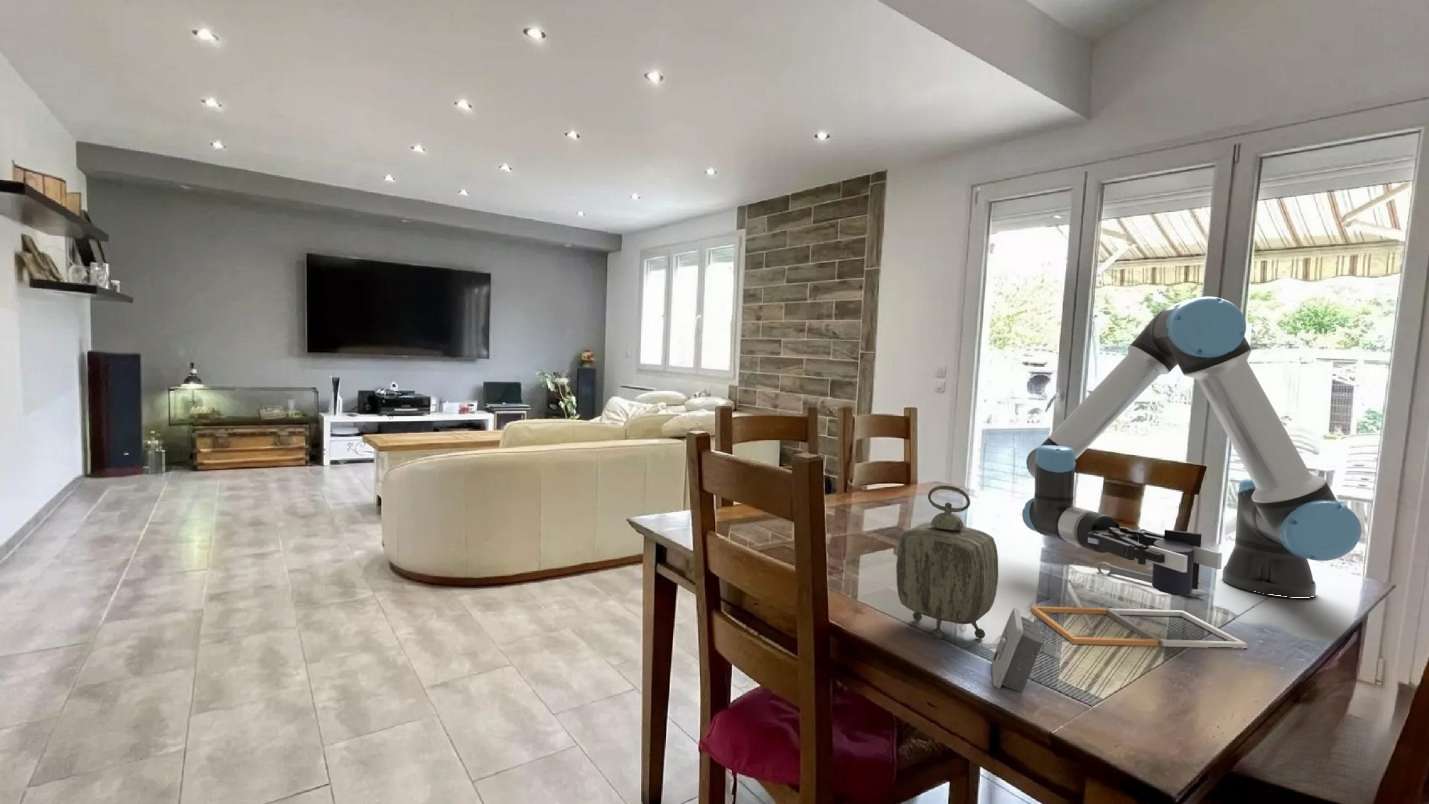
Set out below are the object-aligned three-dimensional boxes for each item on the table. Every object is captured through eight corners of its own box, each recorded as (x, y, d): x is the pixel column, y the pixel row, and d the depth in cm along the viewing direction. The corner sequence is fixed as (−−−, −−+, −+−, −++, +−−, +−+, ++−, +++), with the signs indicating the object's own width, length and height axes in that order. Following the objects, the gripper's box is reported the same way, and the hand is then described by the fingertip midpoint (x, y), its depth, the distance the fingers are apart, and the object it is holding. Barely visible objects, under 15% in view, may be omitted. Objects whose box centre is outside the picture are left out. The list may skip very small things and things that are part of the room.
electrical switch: (991, 662, 99) (1001, 603, 98) (1028, 672, 97) (1039, 612, 96) (992, 690, 90) (1003, 626, 89) (1033, 702, 88) (1044, 636, 87)
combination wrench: (1097, 559, 146) (1202, 582, 129) (1099, 558, 146) (1205, 581, 130) (1096, 575, 146) (1202, 601, 129) (1099, 574, 146) (1204, 600, 130)
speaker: (1160, 579, 119) (1164, 525, 117) (1198, 589, 115) (1203, 533, 113) (1145, 592, 114) (1149, 535, 113) (1184, 603, 110) (1189, 544, 108)
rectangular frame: (1182, 614, 121) (1182, 610, 121) (1246, 648, 106) (1247, 643, 106) (1030, 610, 121) (1030, 606, 121) (1073, 643, 106) (1073, 639, 106)
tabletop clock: (995, 639, 107) (1002, 489, 106) (976, 656, 100) (984, 496, 99) (911, 615, 117) (917, 477, 115) (888, 630, 110) (895, 483, 108)
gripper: (1128, 545, 133) (1246, 580, 111) (1048, 551, 128) (1155, 589, 106) (1129, 509, 133) (1248, 537, 111) (1049, 513, 128) (1157, 543, 105)
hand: (1202, 562), depth 108 cm, fingers closed on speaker, 7 cm apart
